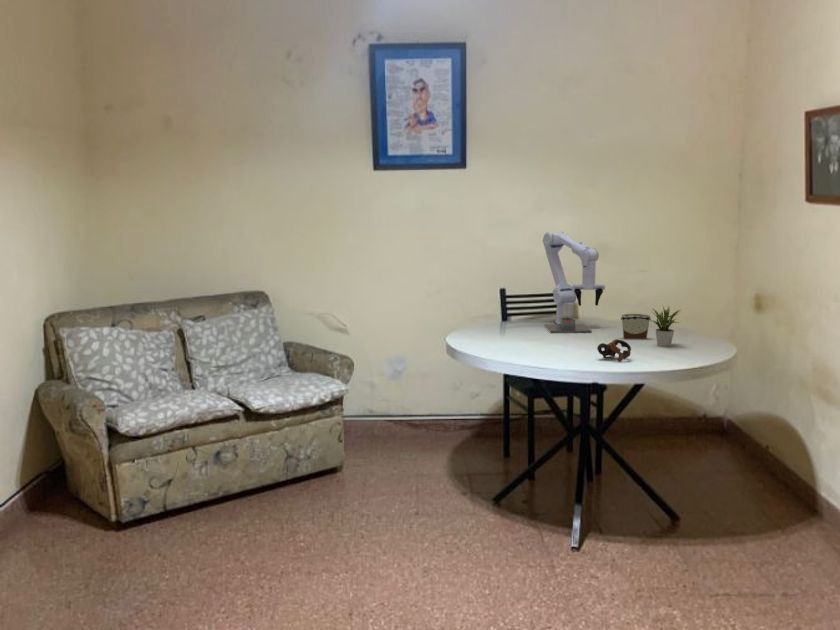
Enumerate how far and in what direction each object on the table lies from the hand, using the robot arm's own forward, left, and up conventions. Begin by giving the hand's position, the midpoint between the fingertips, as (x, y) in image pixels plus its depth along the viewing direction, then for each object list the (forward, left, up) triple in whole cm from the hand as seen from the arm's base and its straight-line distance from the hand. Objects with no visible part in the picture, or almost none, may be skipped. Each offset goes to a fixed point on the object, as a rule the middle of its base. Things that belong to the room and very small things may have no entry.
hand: (588, 305), depth 339 cm
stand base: (+4, -10, -10) cm, 15 cm away
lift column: (+4, -10, -7) cm, 13 cm away
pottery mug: (+68, -5, -11) cm, 69 cm away
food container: (+26, +14, -11) cm, 31 cm away
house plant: (+44, +22, -11) cm, 50 cm away
